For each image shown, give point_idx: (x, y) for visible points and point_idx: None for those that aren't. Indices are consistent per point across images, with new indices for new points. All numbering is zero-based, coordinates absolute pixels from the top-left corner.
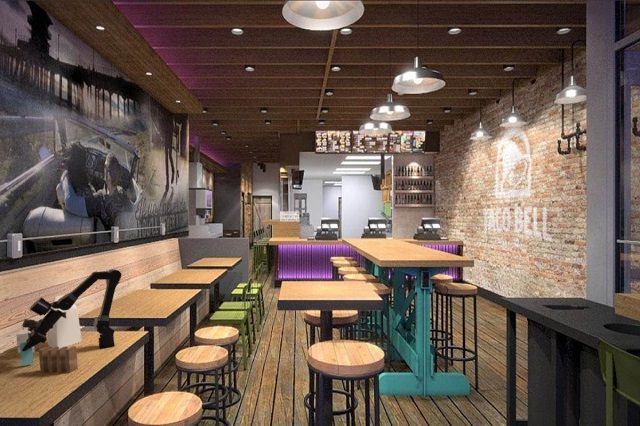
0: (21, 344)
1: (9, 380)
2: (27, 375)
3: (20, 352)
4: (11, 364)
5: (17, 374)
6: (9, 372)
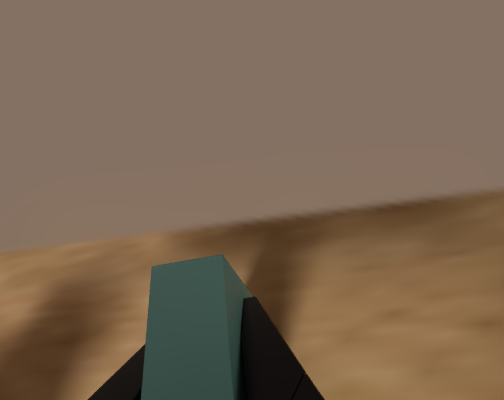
0: (158, 292)
1: (40, 263)
2: (14, 362)
3: (246, 288)
4: (381, 234)
5: (107, 295)
6: (197, 245)
